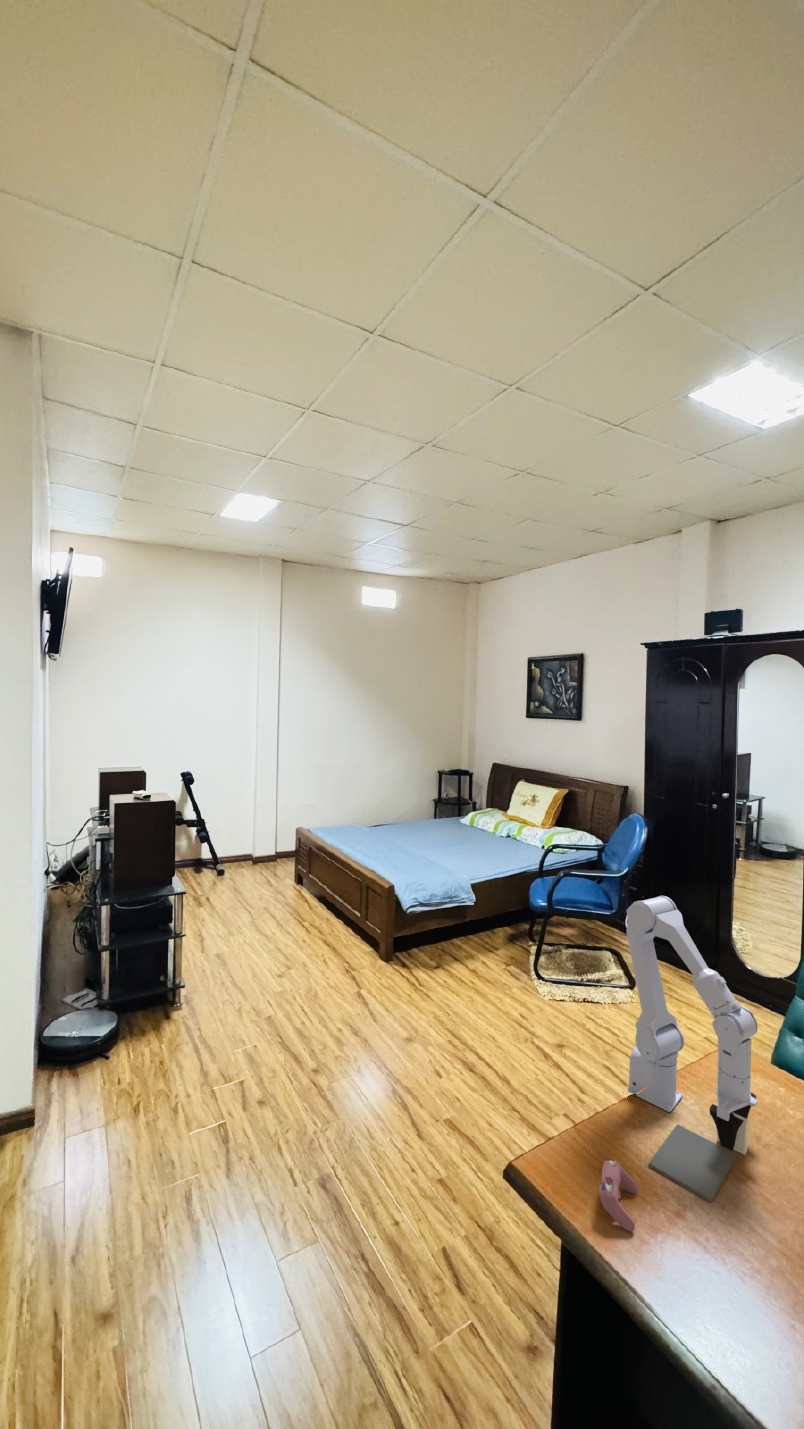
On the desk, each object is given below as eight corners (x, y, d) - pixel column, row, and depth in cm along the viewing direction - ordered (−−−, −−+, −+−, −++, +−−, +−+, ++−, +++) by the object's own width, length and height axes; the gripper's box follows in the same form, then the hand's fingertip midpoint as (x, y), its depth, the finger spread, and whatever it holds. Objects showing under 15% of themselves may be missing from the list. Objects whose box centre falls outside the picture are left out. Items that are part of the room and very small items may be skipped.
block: (716, 1140, 114) (717, 1111, 114) (719, 1135, 115) (720, 1106, 115) (744, 1155, 110) (745, 1124, 110) (747, 1149, 112) (748, 1119, 112)
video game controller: (615, 1191, 103) (598, 1151, 104) (640, 1189, 101) (622, 1148, 102) (610, 1236, 94) (591, 1191, 95) (636, 1234, 92) (617, 1189, 94)
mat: (648, 1166, 107) (648, 1162, 107) (677, 1126, 117) (677, 1123, 117) (711, 1202, 99) (711, 1199, 99) (736, 1157, 110) (736, 1154, 110)
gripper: (746, 1096, 105) (745, 1168, 105) (766, 1063, 115) (764, 1130, 115) (705, 1078, 110) (704, 1147, 110) (728, 1048, 120) (726, 1112, 120)
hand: (732, 1137), depth 113 cm, fingers open, 7 cm apart
